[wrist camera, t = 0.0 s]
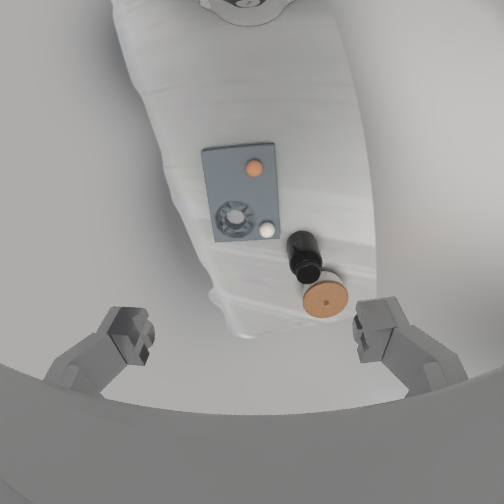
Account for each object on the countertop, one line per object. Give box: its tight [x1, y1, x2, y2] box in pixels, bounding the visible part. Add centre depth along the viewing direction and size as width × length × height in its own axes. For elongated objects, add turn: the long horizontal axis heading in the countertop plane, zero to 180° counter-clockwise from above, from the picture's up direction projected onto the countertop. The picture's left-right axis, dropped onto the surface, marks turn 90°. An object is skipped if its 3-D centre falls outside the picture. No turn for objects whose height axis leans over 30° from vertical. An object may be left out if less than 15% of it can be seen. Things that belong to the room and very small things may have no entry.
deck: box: [201, 143, 280, 242], centre depth 56 cm, size 20×14×2 cm
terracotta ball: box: [246, 160, 263, 177], centre depth 51 cm, size 3×3×3 cm
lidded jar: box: [302, 271, 348, 318], centre depth 64 cm, size 11×11×9 cm
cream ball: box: [259, 222, 275, 238], centre depth 57 cm, size 3×3×3 cm
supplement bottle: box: [287, 232, 322, 284], centre depth 58 cm, size 7×7×12 cm
